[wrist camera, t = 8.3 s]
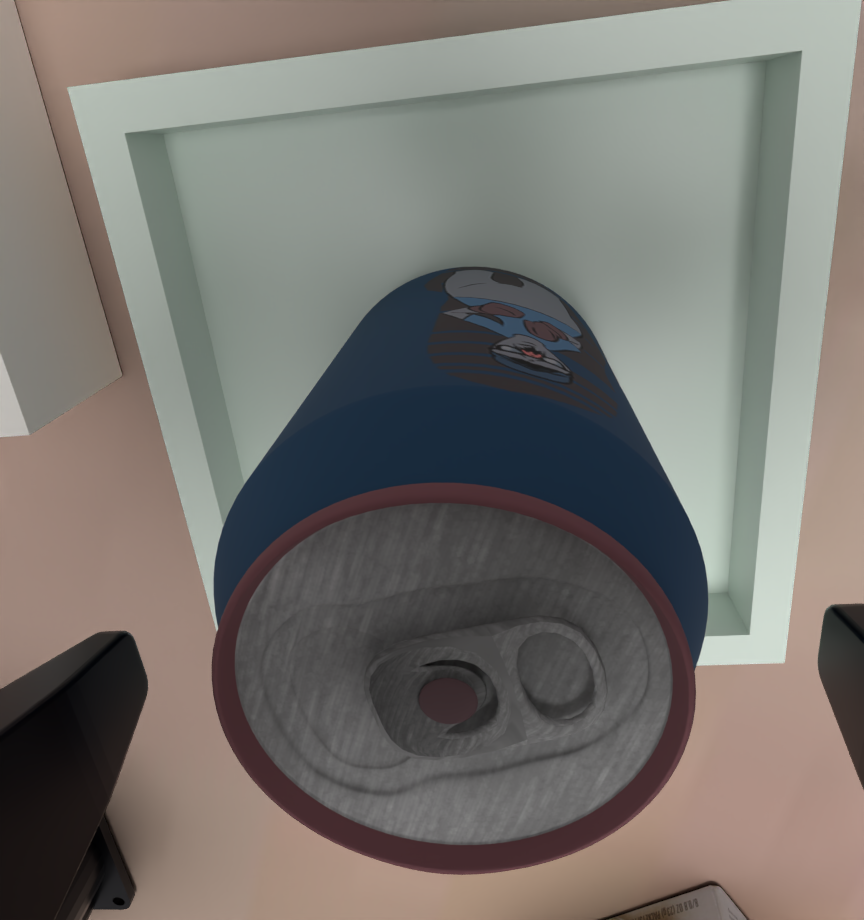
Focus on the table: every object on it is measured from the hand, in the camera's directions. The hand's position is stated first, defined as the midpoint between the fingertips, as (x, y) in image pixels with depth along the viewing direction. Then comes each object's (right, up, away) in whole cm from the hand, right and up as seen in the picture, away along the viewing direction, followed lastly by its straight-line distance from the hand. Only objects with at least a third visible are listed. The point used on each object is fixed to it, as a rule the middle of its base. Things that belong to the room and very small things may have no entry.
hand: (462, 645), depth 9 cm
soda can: (+1, +4, +10) cm, 11 cm away
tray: (+1, +5, +10) cm, 11 cm away
